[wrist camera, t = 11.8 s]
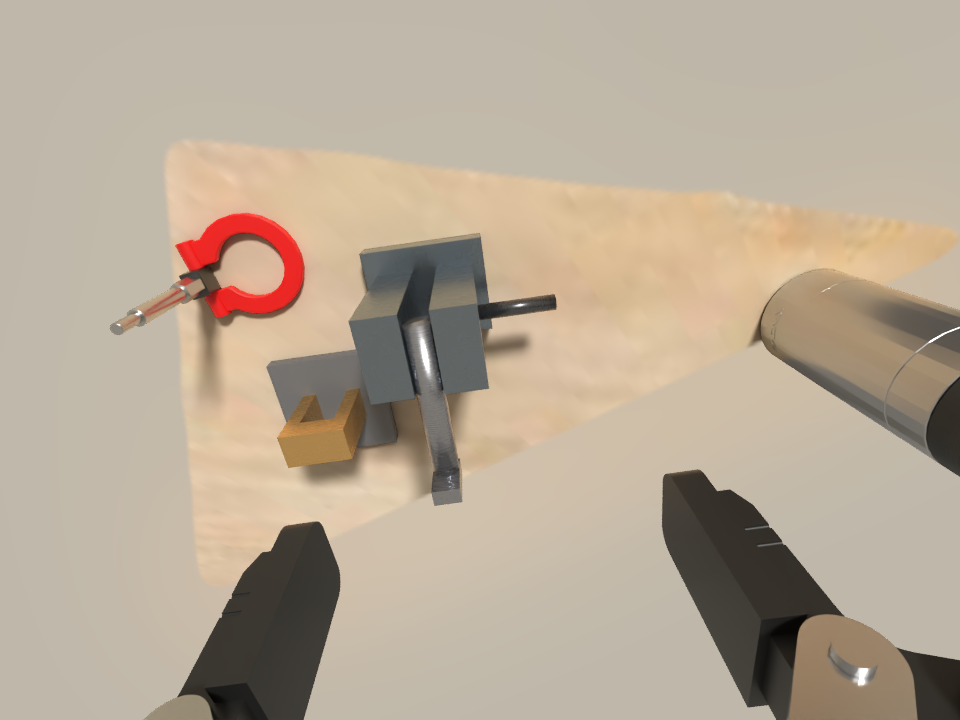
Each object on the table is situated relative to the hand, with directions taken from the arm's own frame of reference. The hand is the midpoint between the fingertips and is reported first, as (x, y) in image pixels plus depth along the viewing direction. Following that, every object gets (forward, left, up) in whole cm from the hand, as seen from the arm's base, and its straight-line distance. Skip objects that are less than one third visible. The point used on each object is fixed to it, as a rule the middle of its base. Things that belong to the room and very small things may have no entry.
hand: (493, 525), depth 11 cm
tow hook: (+19, -1, -32) cm, 37 cm away
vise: (+1, +7, -32) cm, 33 cm away
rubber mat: (+15, +13, -32) cm, 38 cm away
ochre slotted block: (+15, +13, -31) cm, 36 cm away
